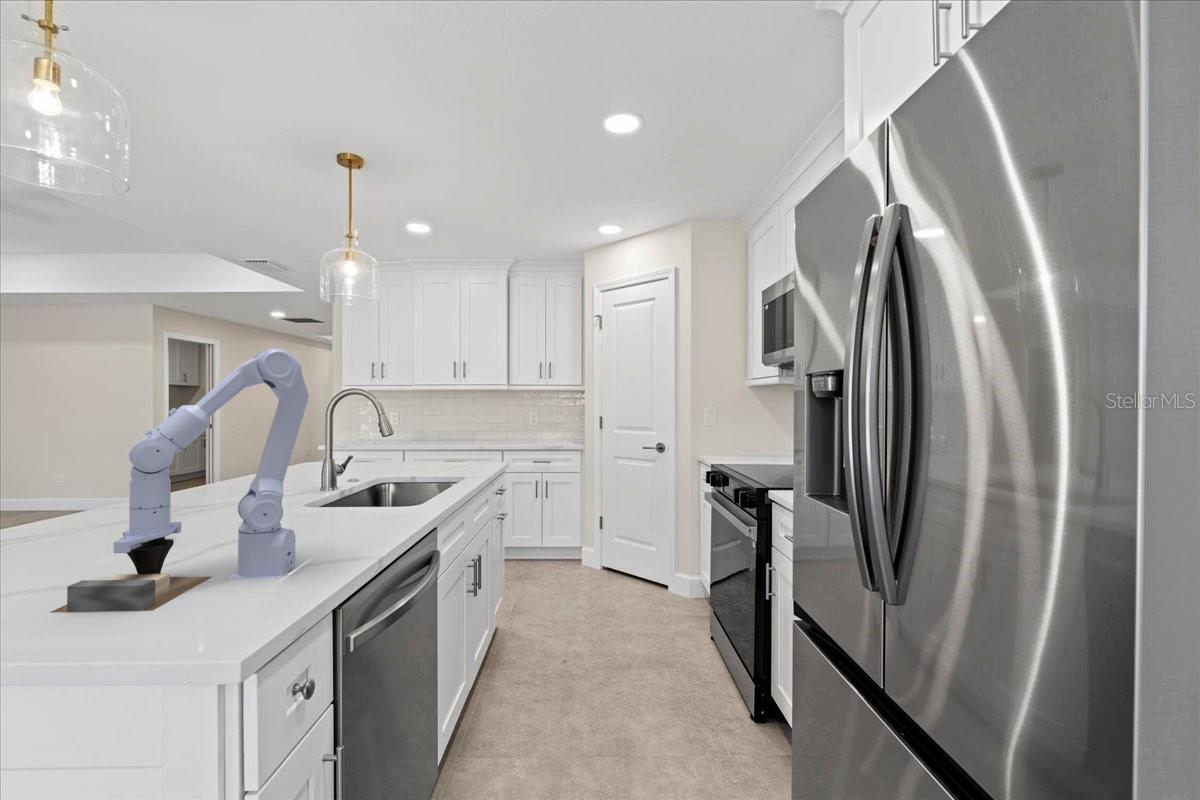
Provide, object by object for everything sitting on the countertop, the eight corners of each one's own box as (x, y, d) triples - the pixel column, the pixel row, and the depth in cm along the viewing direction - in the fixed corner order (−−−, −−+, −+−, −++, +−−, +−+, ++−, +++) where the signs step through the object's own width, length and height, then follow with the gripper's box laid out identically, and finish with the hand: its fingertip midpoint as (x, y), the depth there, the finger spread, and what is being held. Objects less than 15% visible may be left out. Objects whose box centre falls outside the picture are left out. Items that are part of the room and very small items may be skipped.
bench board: (212, 579, 109) (212, 555, 109) (152, 614, 92) (152, 585, 92) (126, 580, 107) (127, 556, 107) (49, 616, 90) (50, 586, 90)
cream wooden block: (169, 590, 101) (169, 573, 101) (150, 601, 96) (150, 583, 96) (120, 591, 100) (120, 574, 100) (98, 601, 95) (98, 583, 95)
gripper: (153, 498, 108) (152, 570, 108) (93, 514, 94) (92, 597, 94) (193, 498, 109) (192, 570, 109) (140, 514, 94) (139, 597, 95)
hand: (149, 583), depth 101 cm, fingers closed
